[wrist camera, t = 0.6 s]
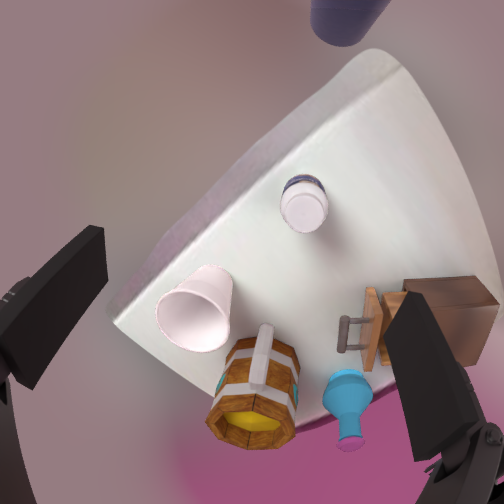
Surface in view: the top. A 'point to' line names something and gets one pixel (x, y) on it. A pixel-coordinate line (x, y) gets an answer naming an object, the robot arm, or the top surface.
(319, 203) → the pill bottle
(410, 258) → the top surface
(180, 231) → the top surface
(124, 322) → the top surface
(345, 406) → the perfume bottle
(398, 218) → the top surface
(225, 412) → the mug
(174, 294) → the cup
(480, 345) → the cabinet
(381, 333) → the drawer
